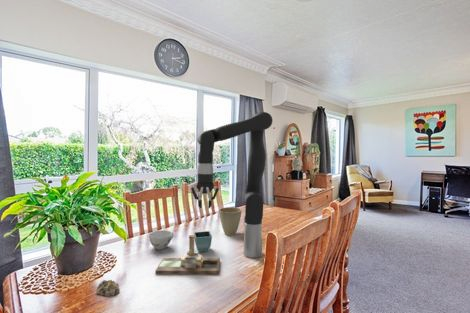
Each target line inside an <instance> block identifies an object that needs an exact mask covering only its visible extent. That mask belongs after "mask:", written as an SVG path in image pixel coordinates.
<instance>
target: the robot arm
mask: <svg viewBox="0 0 470 313" xmlns="http://www.w3.org/2000/svg"><path fill="white" fill-rule="evenodd" d="M272 125H273V116H272V115H271V114H270V113H269V112H266V111H260V112H256V113H254V114H253V115H252V116H251V117H250V118H248V119H245V120H240V121H237V122H231V123H228V124H224V125H221V126H218V127H216V128H212V129H208V130H204V131H201V132H200V133H199V134H198V135H197V138H196V140H197V143H198V144H199V152H198V155H197V156H198V157H197V171H196V172H197V173H196V174H197V175H196V177H197V182H196V185H195V186H191V188H190V189H191V193H192V195H193V198H194V200H197V201H198V207H199V209H202V208H203V207H202V206H203V200H202V197H203V194H205V195H207V197H208V202H207V203H208V205H207V206H208V209H211V207H212V203H213V202H212V201H213V200H215V199H216V197H217V194H218V192H219V191H220V187H218V186H215V185H214V165H213V162H214V161H213V160H214V159H213V157H214V154H213V153H214V149H215V143H217V142H223V141H227V140H230V139H233V138H236V137H238V136H241V135H244V134H246V133H249V132H250V135H249V136H250V137H249V138H250V140H249V147H248V149H249V150H248V158H247V169H246V170H247V172H246V173H247V174H246V176H247V178H246V181H247V182H246V187H245V193H244V198H243V200H244V201H243V203H244V205H245V209H244V211H245V215H244V220H243V221H244V223H243V228H244V229H243V255H244V256H245V257H246V258H251V259H256V258H261V257H262V256H263V236H262V235H263V234H262V232H263V231H262V230H263V229H262V226H263V224H262V222H263V218H264V200H263V197H262V195H261V182H262V179H263V175H264V173H265V168H266V158H267V155H266V149H265V146H264V131H265V130H268V129H270V128H271V127H272ZM197 191H198V192H199V194H197ZM212 191H214V193H213V195H212V193H211V192H212Z"/></svg>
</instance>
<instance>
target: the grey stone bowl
mask: <svg viewBox="0 0 470 313" xmlns="http://www.w3.org/2000/svg"><path fill="white" fill-rule="evenodd" d="M148 237H149V238H148V239H149V242H150V244H151V245H152V247H153V248H154V249H156V250H158V251H159V250H160V251H161V250H165V249H166V248H167V247H168V245H170V243H171V241H172V240H173V239H174V232H172V231H170V230H164V229H163V230H160V229H159V230H155V231H152V232H150V233H149V234H148Z"/></svg>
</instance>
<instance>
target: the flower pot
mask: <svg viewBox="0 0 470 313" xmlns="http://www.w3.org/2000/svg"><path fill="white" fill-rule="evenodd" d="M193 235H195V237H194V245H195V246H196V249H197V250H196V251H198V253H203V252H204V253H205V252H208V251H209V250H210V249H211V246H212V239H213V236H212V234H211V232H210V231H209V230H208V231H196V232H195V231H194V232H193Z"/></svg>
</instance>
